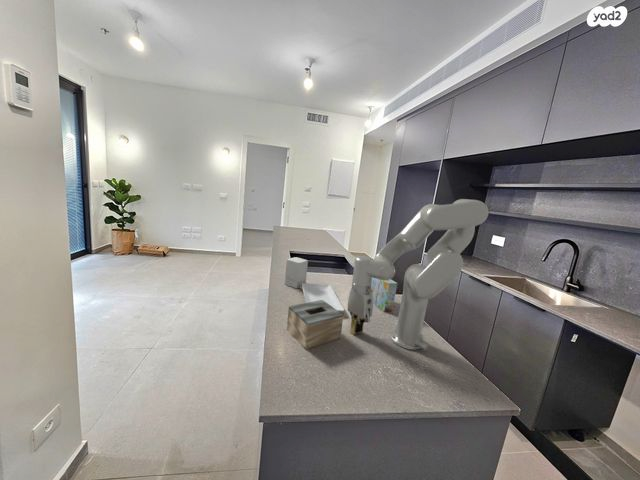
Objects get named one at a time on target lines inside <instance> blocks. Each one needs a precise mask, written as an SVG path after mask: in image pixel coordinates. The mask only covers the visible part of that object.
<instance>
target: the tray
mask: <svg viewBox="0 0 640 480" xmlns="http://www.w3.org/2000/svg"><path fill="white" fill-rule="evenodd" d="M301 288H302V291H303V295H304V299H305V301H306V302H305V303H308V302H313V301H319V300H323V301H325V302H326V303H328V304H329V305H330V306H332V307H333V308H335V309H336V310H338V311H339V312H340V313H343V312H345V308H344V307H343V305H342V303H341V301H340V300H339V298H338V296H337V294H336V293H335V291H334V288H333V287H332V286H331V285H330V284H326V283H325V284H321V283H320V284H319V283H307V282H306V283H302V287H301Z"/></svg>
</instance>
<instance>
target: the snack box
mask: <svg viewBox="0 0 640 480" xmlns="http://www.w3.org/2000/svg"><path fill="white" fill-rule="evenodd" d="M398 285H399V283H398V282H396V281H394V280H393V279H392V278H391V279H390V280H380V279H376V278H373V277H372V286H371V289H372V292H371V293H372V296H373V305H374V306H376V307H378V308H379V309H380V310H381V311H383V312H385V313H386V312H393V309H394V304H395V299H396V295H397V294H396V293H397V288H398Z"/></svg>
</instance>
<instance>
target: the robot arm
mask: <svg viewBox="0 0 640 480" xmlns="http://www.w3.org/2000/svg"><path fill="white" fill-rule="evenodd" d="M489 212H490V211H489V207H488V206H487V205H486V203H484V202H483V201H481V200H477V199H468V198H467V199H466V198H460V199H457V200H455V201H454V202H453V203H450V204H449V203H447V204H435V203H429V204H425V205H423V207H422V208H421V209H420V210H419V211H418V212H416V214H415V215H414V217H412V218H411V220H410V221H409V222H408V223H407V224H406V226H404V228H403V229H402V230H401V231H399V233H398V234H397V235H395V236H394V237H393V238H392V239H391V240H389V241H388V242H387V243H386V244H385V245H384V246H383V247H382V248H381V249H380V251H379V252H378V253H377V254H376V255H375V256H374V259H373V258H372V257H371V256H366V255H359V256H356V257H355V258H354V262H353V263H354V264H353V275H352V281H351V282H352V284H351V288H350V290H349V294H348V302H347V312H349V314H350V316H351V317H350V319H351V320H352V319H353V318H357V317H358V323H357V326H356V333H358V332H361V331H362V329H363V330H364V327H363V323H364V324H365V323H367V324H368V323H370V322H371V318H372V316H373V307H374V303H373V296H372V293H371V292H372V289H371V286H372V277H373V278H376V279H380V280H390V279H391V280H392V279H393V278H394V277H395V275H396V268H395V266H394V263H395V262H396V261H397V260H398V259H399V258H400V257H401V256H402V255H404V254H405V253H407V252H410V251H413V250H416V249H418V248H419V247H420V246H422V244H423V243H424V242H425V241H426V240H427V238H428V237H430V235H431V234H432V233H433V232H434V231H446V232H445V233H444V235H442V236H441V238H440V239H438V240H437V242H435V244H434V245H432V246H431V247H430V248H429V249H428V251H427V252H426V255H425V259H426V262H427V263H428V265H427V266H426V265H424V264H420V263H414V264H412V265H410V266H408V268H407V269H406V270H405V273H404V277H403V287H402V288H403V290H402V295H401V299H400V306H399V311H398V317H397V323H396V328H395V329H394V330H393V331H391V333H390V338H391V341H392V342H393V343H395V344H396V345H397V346H399V347H401V348H404V349H405V350H406V349H407V350H413V351H414V350H415V351H417V350H420V349H423V350H424V351H426V350H428V348H429V344H430V343H429V342H428V341H426V340H424V334H422V330H423V328H424V327H423V326H424V322H425V318H426V317H425V316H426V313H427V307H428V303H429V299H433V298H435V297H436V296H437V295H439V294H441V292H442V291H443V290H444V289H445V288H446V287H447V286H448V285H449V284H450V283H452V281H453V280H455V279H456V277H458V275H459V274H460V273H461V271H462V269H463V267H464V259H463V257H462V255H461V253H462V252H464V250H465V248H467V247H468V246H469V244H470V243H471V242H472V240H473V238H474V235H475V231H476V229H475V228H476V227H477V226H479V225H481V224H483V223H484V222H486V220H487V219H488V217H489ZM361 318H362V320H361ZM361 333H362V332H361Z"/></svg>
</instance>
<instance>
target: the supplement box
mask: <svg viewBox="0 0 640 480" xmlns="http://www.w3.org/2000/svg"><path fill="white" fill-rule="evenodd" d="M308 265H309V260H307V259H304V258H301V257H297V256H296V257H295V256H294V257H291V258H287V259H286V265H285V274H284V275H285V276H284V285H285V286H287V287H291V288H293V289H299V288H302V283H307V274H308V273H307V272H308Z"/></svg>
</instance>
